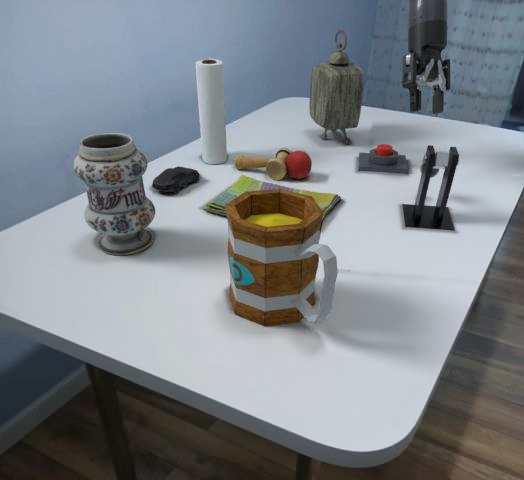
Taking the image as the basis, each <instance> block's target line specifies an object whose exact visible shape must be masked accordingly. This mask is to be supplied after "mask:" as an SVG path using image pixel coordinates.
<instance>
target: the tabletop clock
mask: <svg viewBox="0 0 524 480" xmlns="http://www.w3.org/2000/svg"><path fill="white" fill-rule="evenodd" d="M339 34H342V36H343V40H344V45H343V43H342V42H339V43H338V36H339ZM347 44H348V36H347V33H346V31H344V29H341V28H339V29H338V30H336V32H335V37H334V45H335V48H336V49H337V51H334V52H333V53H331V55H330V56H329V58H328V61H327V62H319V63H318V64H316V65H315V66H313V68H312V69H311V74H310V84H309V85H310V86H309V107H308V109H309V111H308V112H309V116H310V118H311V120H312V121H313V122H314V123H315V124H317V125H318V126H319V127H321V128H323V129H324V132H323V133H321V135H320V138H321V140H323V141H325V140H327V138H328V135H327V133H328V131H331V132H333V133H335V132H336V131H337V130H339V131H340V132H341V133H342V134H343V136H344V138H345V139H344V143H345V145H351V143H352V140H351V138H350V137H348V135H347V132H346V130H348V129H356V128H358V126H359V122H360V118H361V111H362V105H363V96H364V83H365V82H364V81H365V79H364V78H365V75H364V71H363V70H362V68H361V67H360V66H359V65H357V64H356V63H355V62H352V61H350V59H349V56H348V54H347V53H346V52H345V50H346V47H347Z"/></svg>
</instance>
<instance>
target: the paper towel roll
mask: <svg viewBox="0 0 524 480" xmlns="http://www.w3.org/2000/svg"><path fill="white" fill-rule="evenodd" d="M194 67H195V76H196V77H195V78H196V92H197V105H198V116H199V131H200V143H201V144H200V145H201V159H202V161H203V162H204V163H206V164H209V165H219V164H223V163H225V162H227V160H228V151H227V150H228V149H227V147H228V146H227V130H226V129H227V127H226V100H225V99H226V98H225V77H224V75H225V74H224V62H223V61H222V60H220V59H216V58H213V57H209V58H208V59H201V60H197V61H195V64H194Z"/></svg>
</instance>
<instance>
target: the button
mask: <svg viewBox="0 0 524 480" xmlns="http://www.w3.org/2000/svg"><path fill="white" fill-rule="evenodd" d="M376 148H377V150H376V154H377V155H381V156H391V155H392V150H394V146H392V145H391V144H388V143H380V144H377V145H376Z"/></svg>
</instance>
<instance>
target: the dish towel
mask: <svg viewBox="0 0 524 480" xmlns="http://www.w3.org/2000/svg"><path fill="white" fill-rule="evenodd" d="M280 188H281V189H285V190H289V191H292V192H296V193H300V194H304V195H308V196H312V197H313V198H314V200H315V201H316V203H317V204H318V205H319V207H320V208H321V210H322V211H323V217H322V222H323V220H324V218H325V217H326V215H328V213H329V212H330V210H331V209H332V208H334V206H335V205H336V203H337V202H341V201H342V197H341V196H340V195H339V194H338V193H330V192H319V191H318V192H317V191H310V190H305V189H298V188H294V187H293V188H292V187H288V186H284V185H280V184H277V183H271V182H267V181H264V180H258V179H256V178H253V177H250V176H247V175H245V174H241V175H240V176H239V178H238V179H237V180H236V181H235V182H234V183H233V185H232V186H230V187H229V188H228V189H227V190H226V191H225V192H224V193H221V194H219V196H217V197H216V198H214V199H212V200H211V201H208V202H207V203H206V205H205V206H204V207H203V209H202V210H203V211H205V212H207V213H208V212H209V213H212V214H216V215H221V216H225V217H227V214H226V208H225V204H227V203H228V202H230V201H232V200H233V199H235V198H236V197H238V196H240V195H241V194H243V193H244V192H247V191H258V190H269V189H280Z"/></svg>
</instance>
